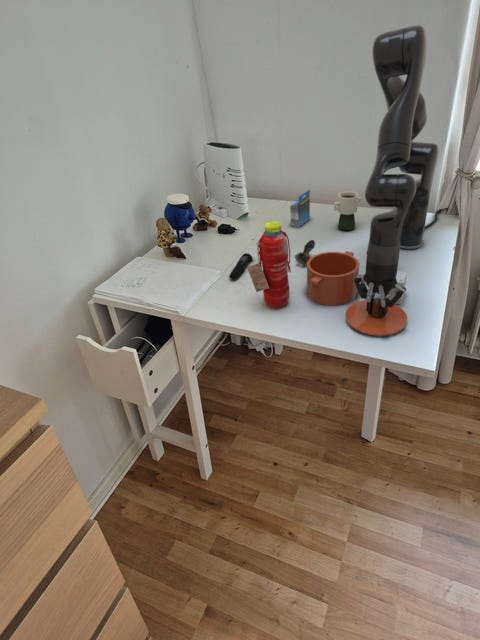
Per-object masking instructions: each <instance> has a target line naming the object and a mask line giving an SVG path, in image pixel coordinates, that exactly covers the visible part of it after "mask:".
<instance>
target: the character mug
mask: <svg viewBox="0 0 480 640" xmlns="http://www.w3.org/2000/svg"><path fill="white" fill-rule="evenodd" d="M361 205H362V197H361V196H359V194H358V192H356V191H342V192H339V193H338V195H337V201H335V202H334V203H333V210H334V212H338V213H339V218H338V224H337V228H338V229H340V230H343V231H351V230H354V229H355V228H356V219H355V217H356V216H355V214H357V212H358V207H360V206H361Z"/></svg>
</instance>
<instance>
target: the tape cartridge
mask: <svg viewBox="0 0 480 640" xmlns="http://www.w3.org/2000/svg"><path fill="white" fill-rule="evenodd" d="M310 195H311V189H308V190H307V191H305V192H303V193H302V194H301V195H299V196H298V197H297V198H298V200H297V201H295V202H294V203H293V204H291V205H290V206H289V207H290V208H289V209H290V211H289V212H290V227H292V228H293V227H294V228H300V227H301V226H302V225H304V224H306V223H307V222H308V221H309V220H310V219H311V218H310V217H311V209H310V205H311V204H310V201H311V200H310Z"/></svg>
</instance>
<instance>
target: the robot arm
mask: <svg viewBox="0 0 480 640" xmlns="http://www.w3.org/2000/svg"><path fill="white" fill-rule="evenodd" d="M427 41H428V40H427V33H426V30H425V28H424V26H423V25H420V24H417V25H410V26H406V27H402V28H398V29H393V30H388V31H385V32H383V33H380V34H379V35H377V36H376V37H375V39H374V41H373V44H372V49H371V53H372V63H373V68H374V71H375V76H376V77H377V80H378V82H379V85H380V88H381V91H382V93H383V96H384V99H385V100H384V101H385V104H386V108H387V112H386V113H385V115H384V117H383V118H382V121H381V123H380V126H379V130H378V138H377V147H376V148H377V149H376V158H375V162H374V165H373V169H372V172H371V174H370V176H369V178H368V181H367V184H366V186H365V190H364V199H365V202H366V203H367V204H368V205H369V206H370V207H373V208H393V209H392V210H390V211H387V212H382V213H378V214H376V215H374V216H373V217H372V218H371V221H370V227H369V239H368V244H367V248H366V249H367V250H366V261H365V269H364V270H365V273H364V274H363V275H362V274H359V275H358V276H357V277H356V278H355V279H354V282H355V284H356V287H357V293H358V295H359V298H360V299H361V300H366V301H367V306H366V311H367V312H368V314H371V311H372V301H373V299H374V298H376V294H378V295H379V298H380V300H381V306H380V312H379V318H383V317H384V316H385V315H386V314H387V311H388V307H390V308H391V307H392V306H393V305H394V304H395V303H396V302H397V301H398V300H399V299H400V297H401V296H402V295H403V294H404V295H405V293H406V292H407V287H406V286H405V287H402V288H401V287H400V286H399V285H397V280H396V275H397V271H398V268H399V260H400V253H401V249H402V250H416V249H419V248H420V247H423V246H422V245H423V239H424V232H425V230H426V229H428V228H430V227H431V226H433V225H434V224H435V223H436V222H437V220H438V216H439V213H441V211H443V210H445V209H446V208H444V209H440V208H439V209H438V210H437V211H436V212H435V214H434V219H433V220H432V221H431V222H430V223H429V224H427V225H426V221H427V217H428V209H429V203H430V198H431V192H432V188H433V182H434V176H435V172H436V167H437V163H438V158H439V151H440V150H439V146H438V144H437V143H433V142H421V141H414V140H415V138H417V137H418V136H419V135H420V133H421V132H422V131H423V130H424V128H425V126H426V125H427V121H428V111H427V105H426V99H425V96H424V95H423V94H422V92H420V90H421V86H422V80H423V76H424V71H425V66H426V59H427V51H428V50H427V49H428V47H427V45H428V43H427ZM401 76H406V78H405V79H404V78H402V77H401ZM396 168H398V169H399V171H400V172H401V174H400V173H398V174H397V173H391V174H390V173H386V172H387V171H389V170H392V169H396ZM413 175H417V176H418V175H419V176H420V178H419V179H416V180H415V178H414V177H413ZM393 288H394V289H395V291H394V294H395V296H394V298H393V299H392V300H389V296H390V291H391V290H392V289H393ZM395 305H396V304H395Z"/></svg>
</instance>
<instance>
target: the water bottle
mask: <svg viewBox="0 0 480 640" xmlns="http://www.w3.org/2000/svg"><path fill="white" fill-rule="evenodd" d="M256 247H257V249H256V250H257V262H258V263H255V264H252V265H250V266H246V269H247V272H248V274H249V276H250V279H251V282H252V284H253V287H254V290H255V292H256V293H258V292H261V291H263V300H264V302H265V304H267V306H269V307H270V308H275V309H279V308H282V307H285V306H286V304H287V303H288V301H289V299H290V283H289V275H288V273H291V271H292V270H291V265H290V263H291V247H290V239H289V236H288V234H287V233H286V231H284V230H282V224H281V222H279V221H277V220H273V221H268V222H266V223H265V224H264V231H263V233H262V234H261V237H260V238H259V239H258V241H257V243H256Z"/></svg>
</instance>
